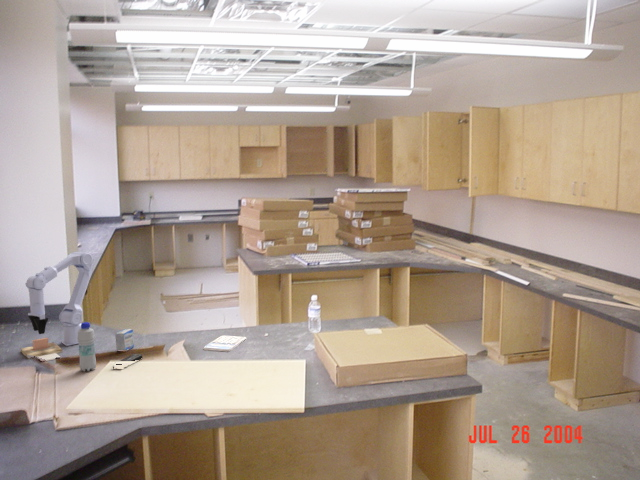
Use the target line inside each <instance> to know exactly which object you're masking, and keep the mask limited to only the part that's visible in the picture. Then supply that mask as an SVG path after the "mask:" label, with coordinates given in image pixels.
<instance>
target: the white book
mask: <svg viewBox="0 0 640 480" xmlns="http://www.w3.org/2000/svg"><path fill="white" fill-rule="evenodd" d="M245 339H246V340H247V337H246V336H234V335H223V334H222V335H221V336H219V337H218V338H216V339H214V340H212V341H211V342H209V343H208V344H206V345H205V346H204V347H203V350H204V351H215V352H216V351H217V352H231V351H233V350H234V349H235V348H237V347H238V346H240V345H241V344H242V343H244V342H245V341H246V340H245ZM244 340H245V341H244ZM243 341H244V342H243ZM241 342H242V343H241ZM240 343H241V344H240ZM239 344H240V345H239Z"/></svg>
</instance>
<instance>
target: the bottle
mask: <svg viewBox="0 0 640 480" xmlns="http://www.w3.org/2000/svg"><path fill="white" fill-rule="evenodd" d="M81 323H82V324H81V329H80V330H79V331H78V337H77V339H78V343H79V344H78V353H79V369H80V370H81V371H82V370H83V371H82V372H84V371H85V372H90V370H91V371H94V370H95V369H96V367H97V360H96V347H95V340H96V339H95V338H96V335H95V330H94V329H93V328H91V324H90V322H86V321H84V322H81ZM94 368H95V369H94Z"/></svg>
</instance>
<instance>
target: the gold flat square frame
mask: <svg viewBox="0 0 640 480" xmlns="http://www.w3.org/2000/svg"><path fill="white" fill-rule="evenodd" d="M48 343H49V348H44V349H39V350H33V345H32V346H27V347H21V348H20V352H21V353H22V354H23V355H24V356H25V357H26V358H27V360H31V359H30V358H28V357H27V355H31V356H36V357H38V356H43V355H48V354H53V353H56V354H60V353H63V349H62V347H60V345H58V344H56V342H53V341H52V342H48ZM36 357H35V358H36Z"/></svg>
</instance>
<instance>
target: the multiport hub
mask: <svg viewBox="0 0 640 480" xmlns="http://www.w3.org/2000/svg"><path fill="white" fill-rule="evenodd" d="M141 358H142V359H143V354H140V353H133V354H130V355H129V356H126V357H125V358H123V359H120V360H119V361H135V360H139V359H141ZM142 359H141V360H142ZM139 361H140V360H139ZM116 365H122V364H116Z"/></svg>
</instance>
